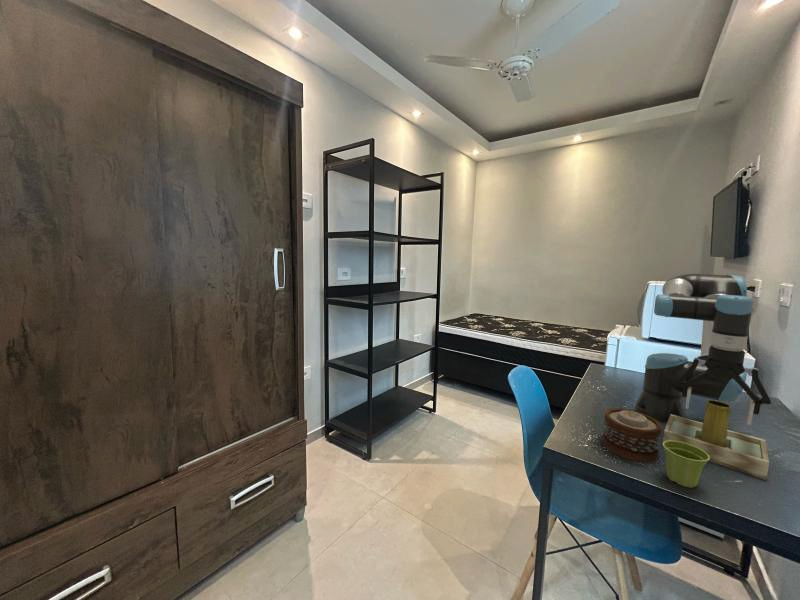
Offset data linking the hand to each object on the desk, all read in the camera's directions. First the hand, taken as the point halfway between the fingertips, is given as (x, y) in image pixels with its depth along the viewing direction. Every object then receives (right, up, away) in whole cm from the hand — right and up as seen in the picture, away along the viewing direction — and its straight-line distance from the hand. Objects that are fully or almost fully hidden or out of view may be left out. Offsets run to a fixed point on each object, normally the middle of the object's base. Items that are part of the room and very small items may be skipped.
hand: (716, 415), depth 99 cm
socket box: (0, -11, +1) cm, 11 cm away
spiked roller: (-25, -11, +2) cm, 28 cm away
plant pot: (-22, -13, -13) cm, 28 cm away
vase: (0, -11, +1) cm, 11 cm away
